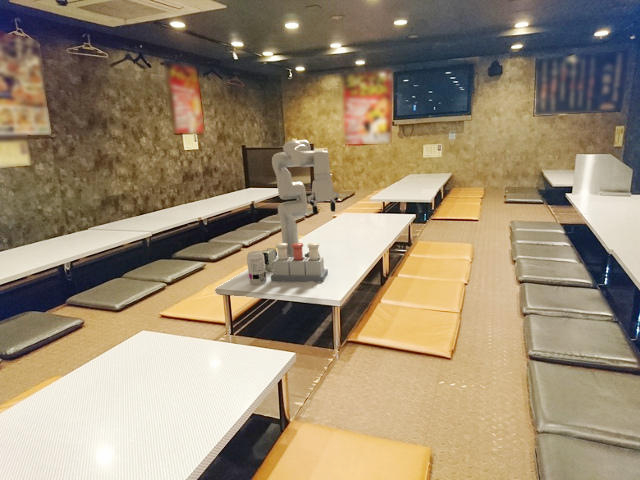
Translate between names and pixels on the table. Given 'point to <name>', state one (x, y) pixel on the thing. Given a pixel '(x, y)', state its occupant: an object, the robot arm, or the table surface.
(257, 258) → the supplement can
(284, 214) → the robot arm
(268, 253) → the pneumatic valve
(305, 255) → the electrical switch
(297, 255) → the red rounded knob
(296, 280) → the grey compartment rack
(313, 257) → the ivory plunger
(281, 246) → the ivory plunger
